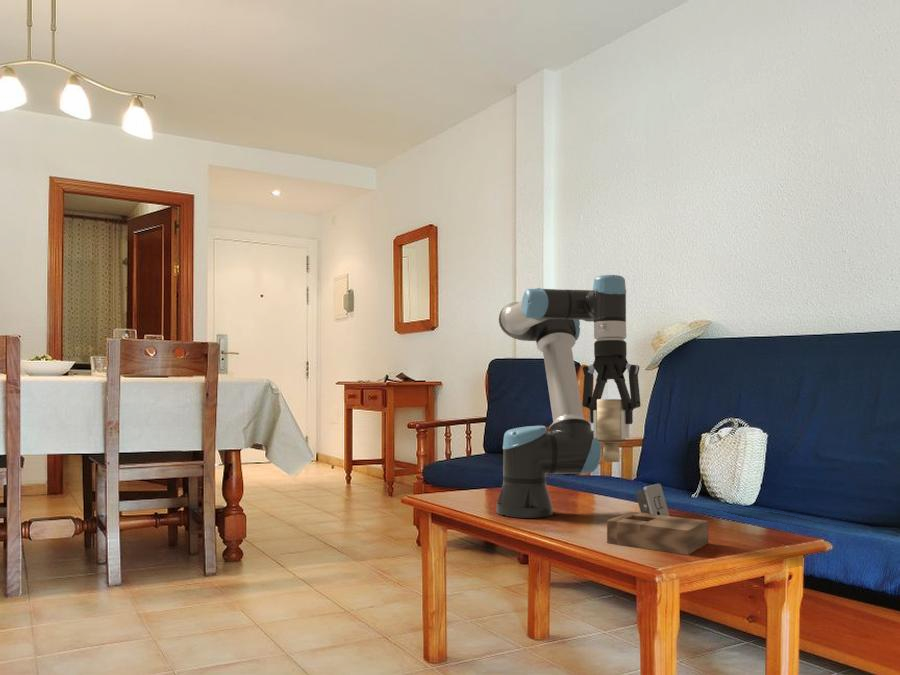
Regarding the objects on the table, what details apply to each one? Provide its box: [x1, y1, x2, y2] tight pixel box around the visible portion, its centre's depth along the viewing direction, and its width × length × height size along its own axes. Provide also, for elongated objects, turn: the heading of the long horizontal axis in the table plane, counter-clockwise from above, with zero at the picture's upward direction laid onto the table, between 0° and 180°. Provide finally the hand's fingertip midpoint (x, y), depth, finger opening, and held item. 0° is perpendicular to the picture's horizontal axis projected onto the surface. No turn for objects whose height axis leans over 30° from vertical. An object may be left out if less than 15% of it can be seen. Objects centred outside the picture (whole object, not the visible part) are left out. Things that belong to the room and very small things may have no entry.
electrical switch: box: [635, 483, 670, 516], centre depth 193 cm, size 9×5×9 cm, turn 141°
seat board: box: [606, 511, 709, 556], centre depth 165 cm, size 18×14×5 cm
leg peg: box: [597, 398, 626, 463], centre depth 174 cm, size 6×6×14 cm
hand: (611, 437), depth 174 cm, fingers closed on leg peg, 6 cm apart
